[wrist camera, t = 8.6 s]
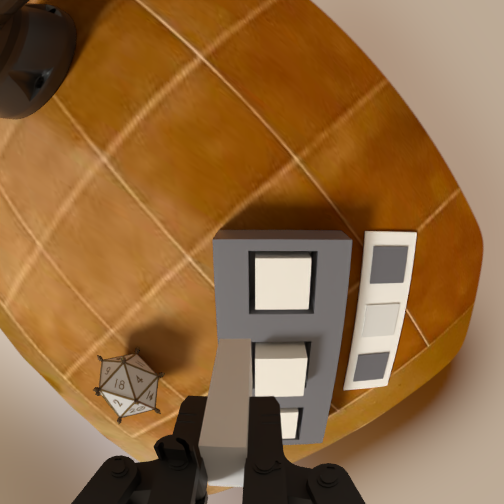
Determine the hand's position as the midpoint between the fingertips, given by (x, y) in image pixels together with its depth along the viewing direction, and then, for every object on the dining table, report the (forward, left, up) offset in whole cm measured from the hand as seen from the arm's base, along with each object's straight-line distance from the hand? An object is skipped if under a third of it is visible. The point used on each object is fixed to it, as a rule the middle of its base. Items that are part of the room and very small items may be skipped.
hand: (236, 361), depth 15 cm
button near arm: (+1, +3, -16) cm, 16 cm away
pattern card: (+7, +15, -17) cm, 24 cm away
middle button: (+10, +3, -14) cm, 18 cm away
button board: (+10, +3, -17) cm, 20 cm away
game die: (+14, -14, -17) cm, 26 cm away
